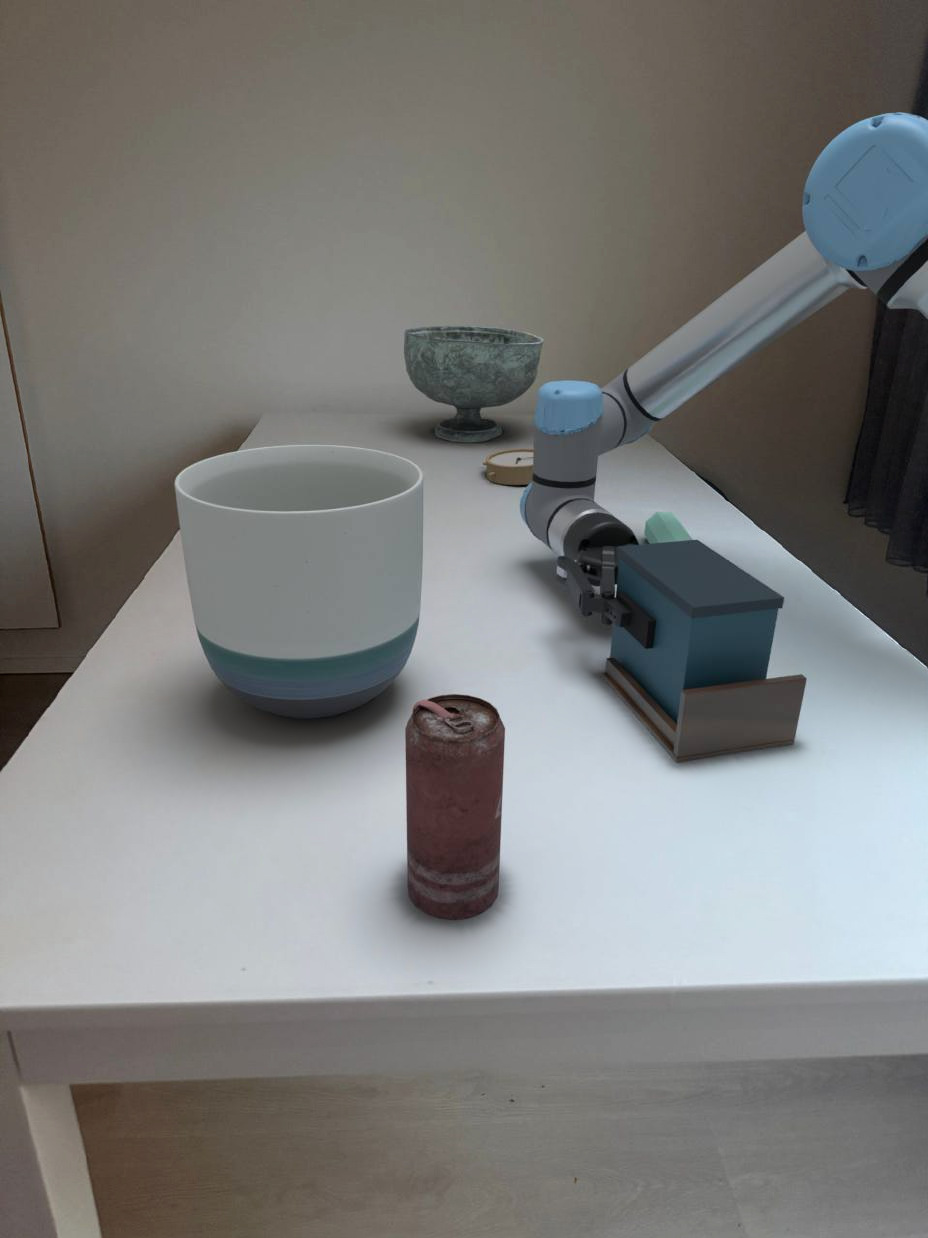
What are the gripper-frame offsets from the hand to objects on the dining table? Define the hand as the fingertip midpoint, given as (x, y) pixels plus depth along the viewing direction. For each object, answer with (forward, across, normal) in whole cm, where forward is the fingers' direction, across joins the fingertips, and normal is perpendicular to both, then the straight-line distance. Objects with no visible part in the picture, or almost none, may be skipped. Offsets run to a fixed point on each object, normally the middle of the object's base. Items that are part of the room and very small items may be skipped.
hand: (695, 629), depth 81 cm
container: (-30, -15, -8) cm, 35 cm away
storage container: (-1, 0, -7) cm, 7 cm away
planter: (-10, +33, -8) cm, 35 cm away
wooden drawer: (+1, 0, -8) cm, 8 cm away
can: (+18, +28, -8) cm, 34 cm away
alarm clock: (-76, -12, -8) cm, 77 cm away
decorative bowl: (-107, -10, -8) cm, 108 cm away
